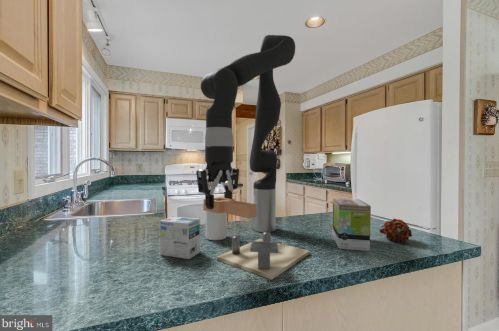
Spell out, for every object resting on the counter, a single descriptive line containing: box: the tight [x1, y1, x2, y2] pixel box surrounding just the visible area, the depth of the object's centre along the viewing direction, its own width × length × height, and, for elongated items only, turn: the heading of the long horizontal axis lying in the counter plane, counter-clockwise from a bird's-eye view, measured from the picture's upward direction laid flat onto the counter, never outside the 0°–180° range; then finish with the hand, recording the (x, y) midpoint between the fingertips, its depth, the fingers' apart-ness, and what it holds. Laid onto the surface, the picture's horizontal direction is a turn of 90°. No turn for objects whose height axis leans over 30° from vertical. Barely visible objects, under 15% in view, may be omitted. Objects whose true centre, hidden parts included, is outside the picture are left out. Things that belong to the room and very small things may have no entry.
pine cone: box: [379, 218, 413, 244], centre depth 88 cm, size 8×8×12 cm
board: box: [216, 238, 311, 281], centre depth 73 cm, size 19×21×1 cm
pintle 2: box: [262, 232, 272, 242], centre depth 77 cm, size 2×2×5 cm
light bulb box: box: [159, 216, 202, 260], centre depth 76 cm, size 11×7×11 cm, turn 71°
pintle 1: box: [231, 234, 241, 255], centre depth 73 cm, size 2×2×5 cm
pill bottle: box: [205, 196, 228, 241], centre depth 91 cm, size 8×8×15 cm
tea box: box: [332, 198, 372, 252], centre depth 85 cm, size 15×10×15 cm, turn 168°
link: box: [202, 196, 257, 219], centre depth 64 cm, size 15×6×3 cm, turn 49°
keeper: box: [250, 240, 279, 270], centre depth 65 cm, size 5×7×5 cm
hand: (219, 206), depth 67 cm, fingers closed on link, 6 cm apart
